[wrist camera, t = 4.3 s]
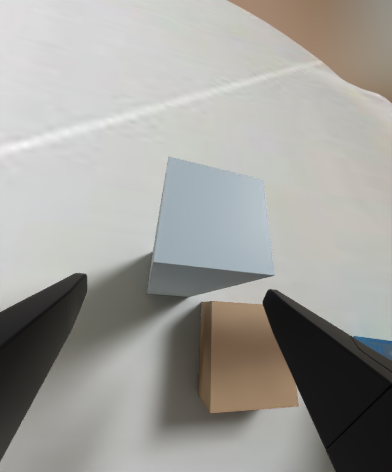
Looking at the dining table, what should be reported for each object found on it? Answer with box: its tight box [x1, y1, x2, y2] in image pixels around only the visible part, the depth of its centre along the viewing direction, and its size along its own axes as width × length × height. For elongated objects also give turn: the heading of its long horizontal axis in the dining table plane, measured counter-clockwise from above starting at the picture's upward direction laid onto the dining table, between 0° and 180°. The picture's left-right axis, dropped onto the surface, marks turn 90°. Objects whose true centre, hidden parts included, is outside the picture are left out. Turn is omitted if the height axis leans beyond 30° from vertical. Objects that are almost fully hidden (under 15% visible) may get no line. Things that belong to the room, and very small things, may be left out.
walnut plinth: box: [198, 301, 299, 413], centre depth 15 cm, size 7×7×3 cm
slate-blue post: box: [147, 157, 275, 297], centre depth 12 cm, size 4×4×12 cm
